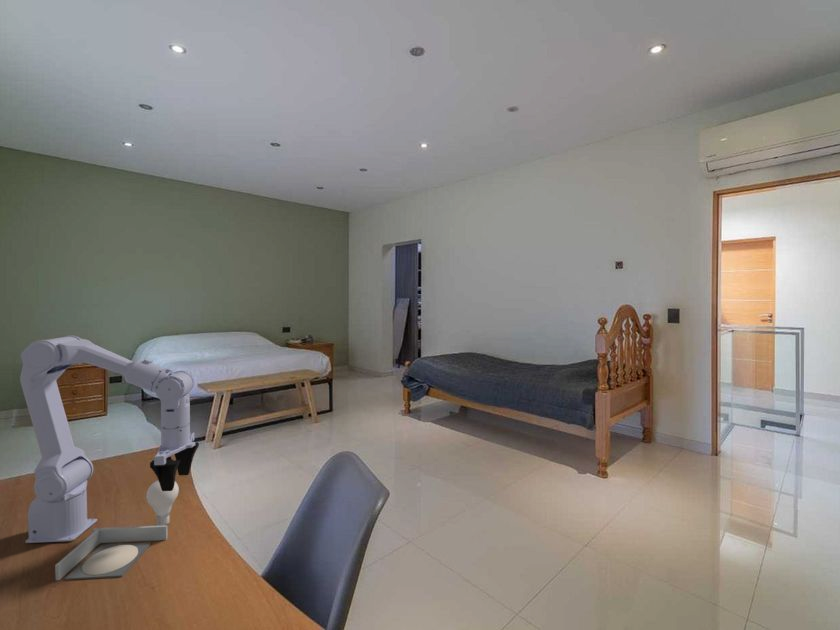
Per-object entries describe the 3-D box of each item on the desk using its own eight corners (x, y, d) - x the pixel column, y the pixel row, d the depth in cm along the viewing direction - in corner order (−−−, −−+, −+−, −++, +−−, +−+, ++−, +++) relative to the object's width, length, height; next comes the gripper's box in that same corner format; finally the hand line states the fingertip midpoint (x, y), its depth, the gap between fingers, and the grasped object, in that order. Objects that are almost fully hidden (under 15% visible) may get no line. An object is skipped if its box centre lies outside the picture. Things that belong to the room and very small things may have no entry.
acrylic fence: (50, 580, 75) (49, 565, 75) (94, 541, 86) (94, 528, 86) (135, 576, 76) (135, 561, 76) (167, 538, 88) (167, 525, 88)
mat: (64, 579, 75) (64, 577, 75) (101, 546, 85) (101, 544, 85) (121, 576, 76) (121, 574, 76) (151, 543, 86) (151, 542, 86)
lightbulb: (163, 535, 89) (162, 487, 88) (139, 531, 90) (139, 484, 90) (185, 519, 95) (185, 475, 95) (163, 516, 97) (162, 472, 96)
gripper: (178, 436, 85) (179, 497, 86) (207, 415, 99) (207, 468, 100) (143, 436, 84) (144, 498, 85) (177, 415, 99) (177, 468, 99)
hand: (176, 482), depth 93 cm, fingers open, 7 cm apart
